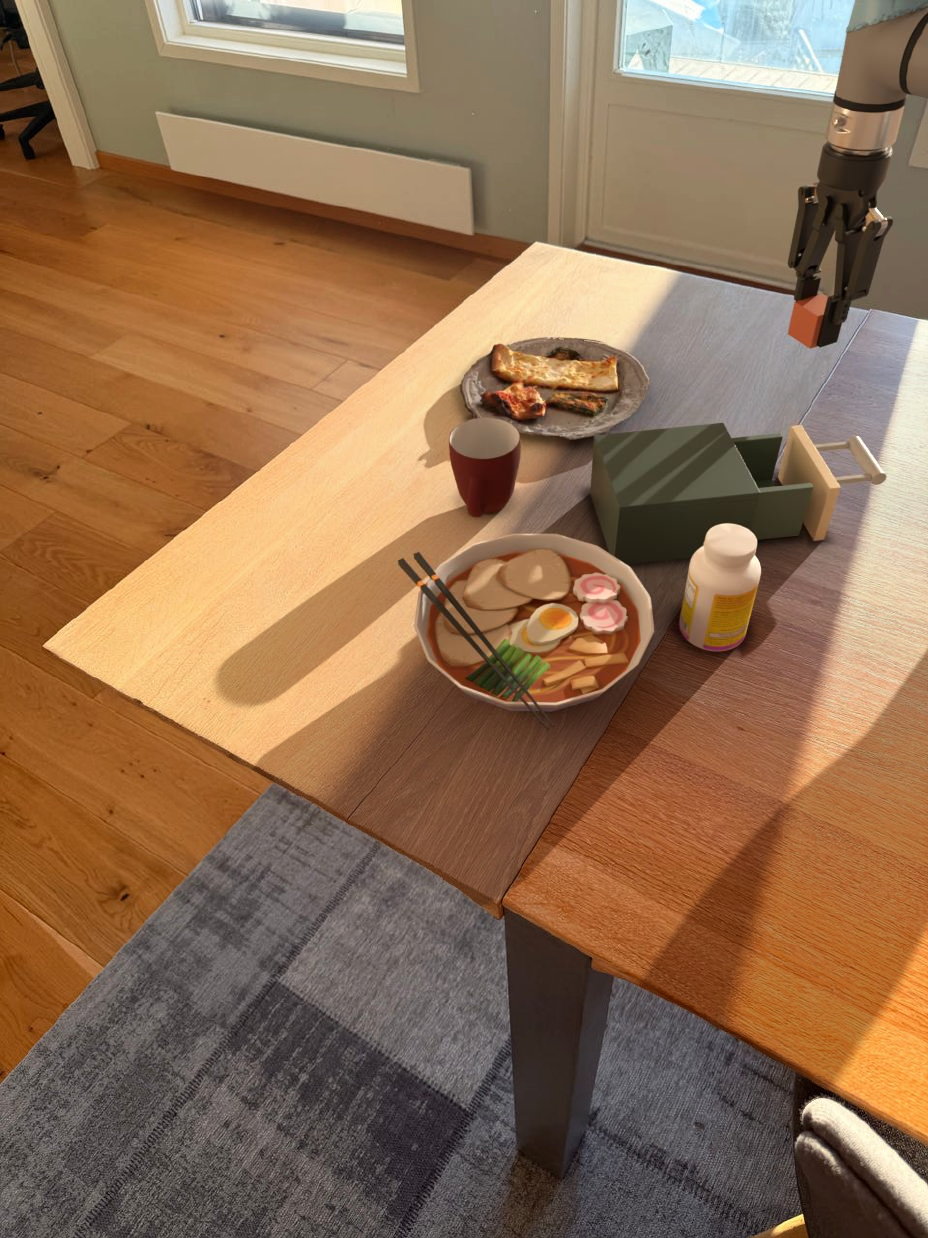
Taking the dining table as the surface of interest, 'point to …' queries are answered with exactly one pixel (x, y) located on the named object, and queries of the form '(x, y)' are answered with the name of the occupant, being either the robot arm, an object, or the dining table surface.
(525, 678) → the ramen bowl
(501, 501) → the mug
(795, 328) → the block
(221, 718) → the dining table surface
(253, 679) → the dining table surface
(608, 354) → the food plate
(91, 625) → the dining table surface
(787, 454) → the drawer
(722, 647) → the supplement bottle
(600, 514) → the cabinet
